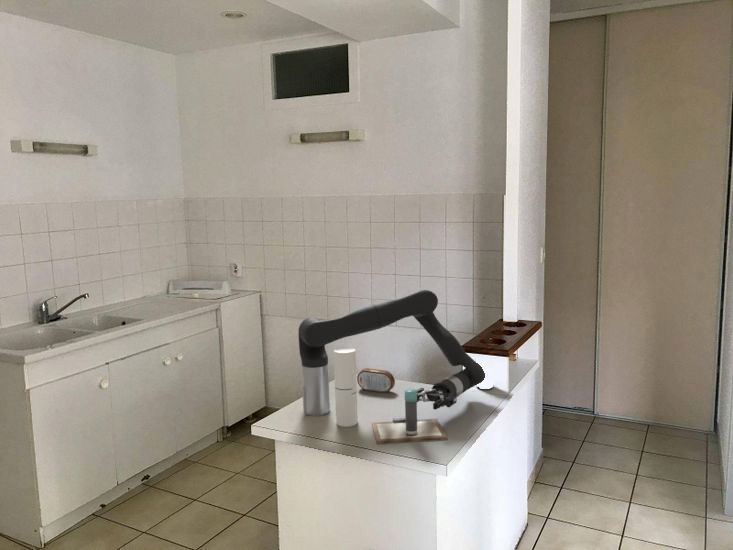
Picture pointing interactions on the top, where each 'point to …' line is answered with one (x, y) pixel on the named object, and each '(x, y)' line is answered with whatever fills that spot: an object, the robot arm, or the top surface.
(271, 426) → the top surface
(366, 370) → the tin
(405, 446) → the top surface
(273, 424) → the top surface
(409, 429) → the marker
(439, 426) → the clipboard
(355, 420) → the cylindrical container
